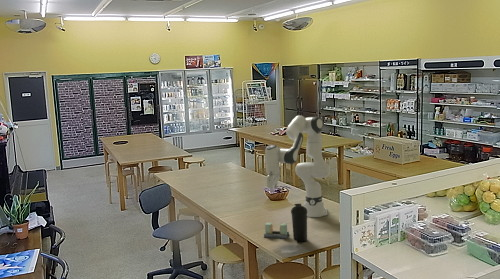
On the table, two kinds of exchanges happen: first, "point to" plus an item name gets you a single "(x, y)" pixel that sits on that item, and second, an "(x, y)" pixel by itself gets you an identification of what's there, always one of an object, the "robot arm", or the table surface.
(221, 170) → the table surface
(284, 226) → the pale green block
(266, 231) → the green and orange block
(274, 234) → the rail
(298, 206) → the water bottle
